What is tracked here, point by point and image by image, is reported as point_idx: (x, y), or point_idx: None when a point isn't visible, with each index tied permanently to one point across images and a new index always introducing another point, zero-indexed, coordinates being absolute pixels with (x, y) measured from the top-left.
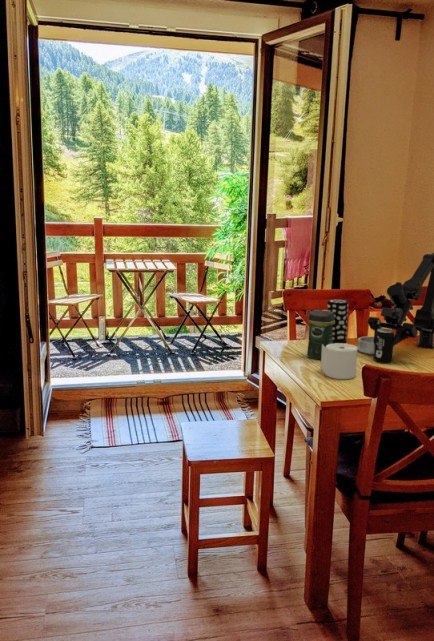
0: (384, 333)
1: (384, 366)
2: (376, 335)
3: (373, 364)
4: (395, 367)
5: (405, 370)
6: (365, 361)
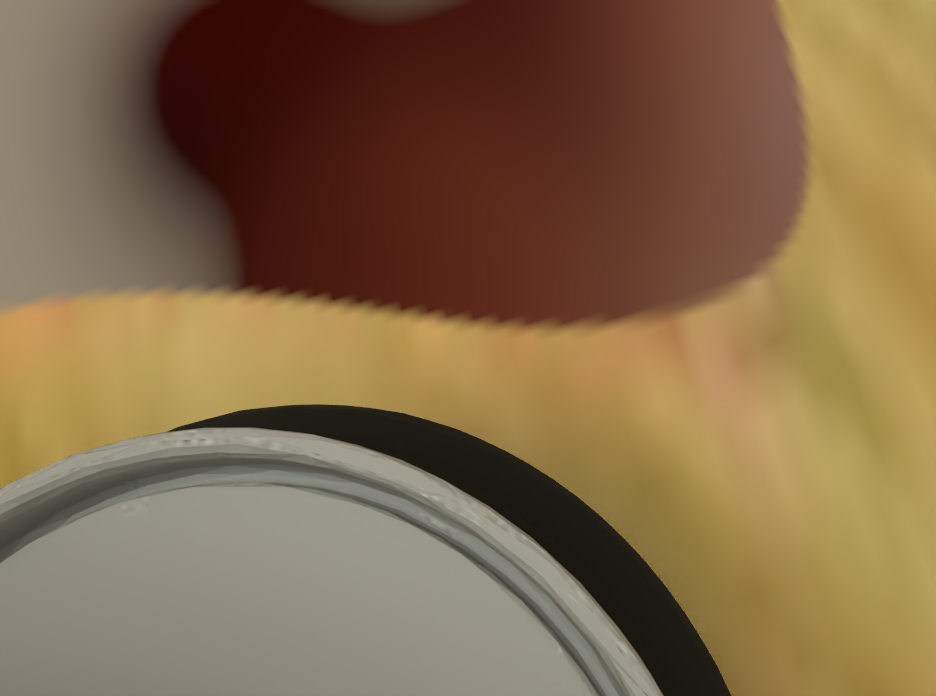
0: (204, 458)
1: (382, 350)
2: (670, 601)
3: (584, 370)
4: (205, 387)
5: (47, 307)
6: (779, 489)
